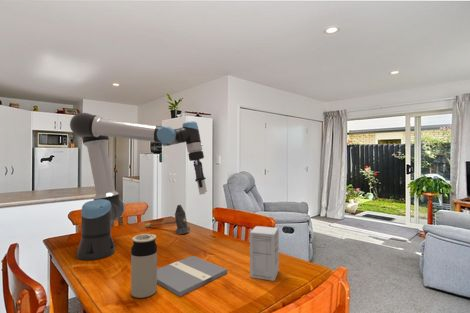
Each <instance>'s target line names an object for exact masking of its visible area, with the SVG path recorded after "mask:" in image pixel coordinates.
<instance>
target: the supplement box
mask: <svg viewBox="0 0 470 313" xmlns="http://www.w3.org/2000/svg"><path fill="white" fill-rule="evenodd" d="M279 244H280V243H279V227H269V226H260V225H256V226H255V227H253V229H252V230H251V231H250V233H249V278H253V279H259V280H266V281H271V282H274V281H276V278H277V276H278V274H279V272H280V260H279V258H280V256H279V254H280V252H279V249H280V248H279V246H280V245H279Z"/></svg>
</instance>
